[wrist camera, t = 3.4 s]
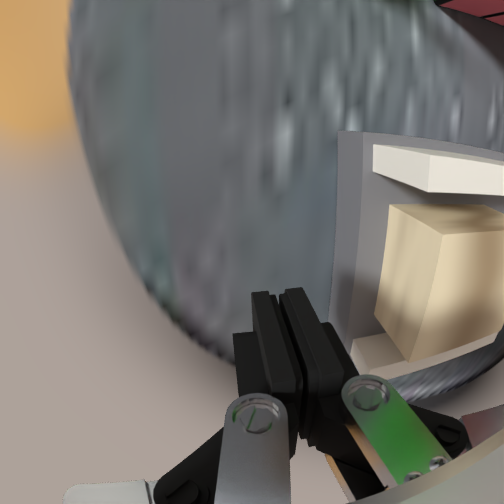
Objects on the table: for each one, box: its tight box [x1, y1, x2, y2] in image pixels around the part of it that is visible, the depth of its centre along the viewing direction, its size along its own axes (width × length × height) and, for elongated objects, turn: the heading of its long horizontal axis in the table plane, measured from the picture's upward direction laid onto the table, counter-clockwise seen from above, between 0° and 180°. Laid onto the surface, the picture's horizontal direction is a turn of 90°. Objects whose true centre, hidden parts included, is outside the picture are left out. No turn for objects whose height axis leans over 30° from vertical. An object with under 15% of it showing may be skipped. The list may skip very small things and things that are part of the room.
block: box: [374, 204, 504, 363], centre depth 12 cm, size 7×6×4 cm
